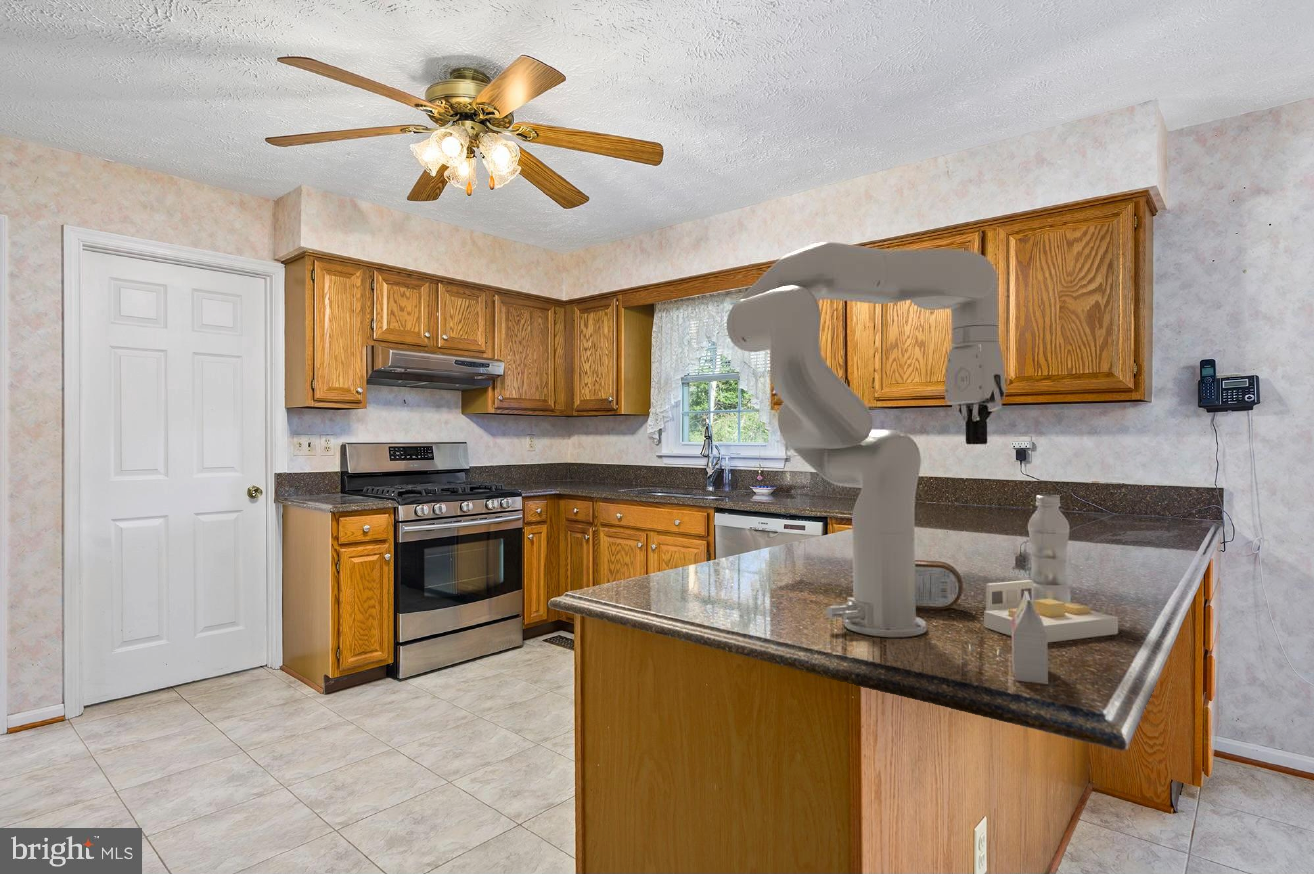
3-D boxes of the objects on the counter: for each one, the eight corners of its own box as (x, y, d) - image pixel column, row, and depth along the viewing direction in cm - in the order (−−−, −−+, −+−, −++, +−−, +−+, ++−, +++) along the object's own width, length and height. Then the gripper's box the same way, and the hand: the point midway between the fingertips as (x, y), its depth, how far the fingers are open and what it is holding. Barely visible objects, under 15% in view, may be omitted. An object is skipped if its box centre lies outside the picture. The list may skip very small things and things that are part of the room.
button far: (1075, 628, 110) (1075, 608, 110) (1059, 624, 113) (1059, 604, 113) (1090, 627, 111) (1090, 606, 111) (1073, 622, 114) (1073, 602, 114)
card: (990, 621, 116) (990, 584, 116) (986, 619, 117) (985, 583, 117) (1034, 616, 119) (1033, 580, 119) (1029, 615, 120) (1029, 579, 120)
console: (1034, 643, 104) (1034, 626, 104) (984, 626, 113) (984, 611, 113) (1118, 633, 108) (1117, 617, 108) (1062, 618, 118) (1062, 603, 118)
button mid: (1049, 625, 109) (1049, 604, 109) (1034, 620, 112) (1033, 600, 112) (1065, 623, 110) (1065, 602, 110) (1049, 618, 113) (1048, 598, 113)
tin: (962, 608, 126) (962, 560, 126) (964, 612, 123) (963, 563, 123) (874, 602, 131) (873, 557, 131) (873, 606, 128) (873, 559, 128)
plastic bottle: (1059, 606, 126) (1058, 493, 126) (1078, 615, 120) (1076, 496, 120) (1022, 605, 127) (1020, 494, 127) (1038, 614, 120) (1036, 497, 120)
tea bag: (1043, 667, 93) (1042, 591, 93) (1048, 684, 87) (1046, 602, 87) (1012, 664, 95) (1010, 589, 95) (1014, 680, 88) (1013, 599, 88)
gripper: (928, 344, 130) (930, 444, 130) (989, 332, 116) (990, 444, 116) (962, 345, 132) (963, 443, 132) (1026, 333, 118) (1027, 444, 118)
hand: (976, 443), depth 124 cm, fingers closed
